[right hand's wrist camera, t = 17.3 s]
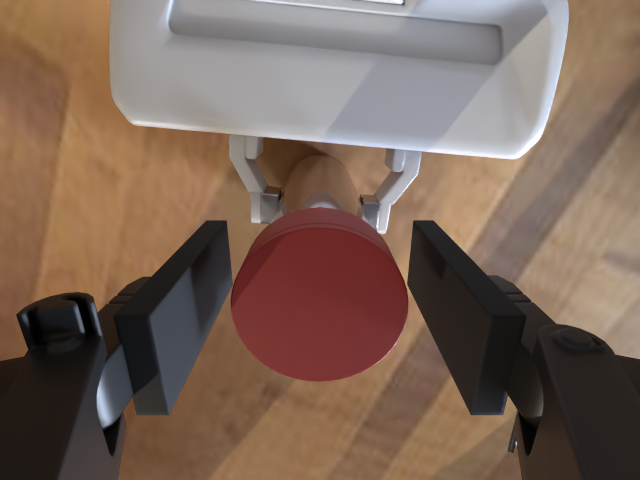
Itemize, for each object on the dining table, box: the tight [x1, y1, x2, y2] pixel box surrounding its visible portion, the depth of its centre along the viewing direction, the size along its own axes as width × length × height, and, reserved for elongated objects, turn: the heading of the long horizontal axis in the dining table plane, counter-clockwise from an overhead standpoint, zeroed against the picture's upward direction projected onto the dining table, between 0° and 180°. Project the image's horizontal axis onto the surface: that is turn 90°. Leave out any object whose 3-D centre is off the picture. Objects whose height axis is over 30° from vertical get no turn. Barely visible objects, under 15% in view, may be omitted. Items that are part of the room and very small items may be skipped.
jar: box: [269, 155, 370, 225], centre depth 18 cm, size 4×4×16 cm
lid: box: [231, 207, 408, 382], centre depth 11 cm, size 5×5×2 cm
